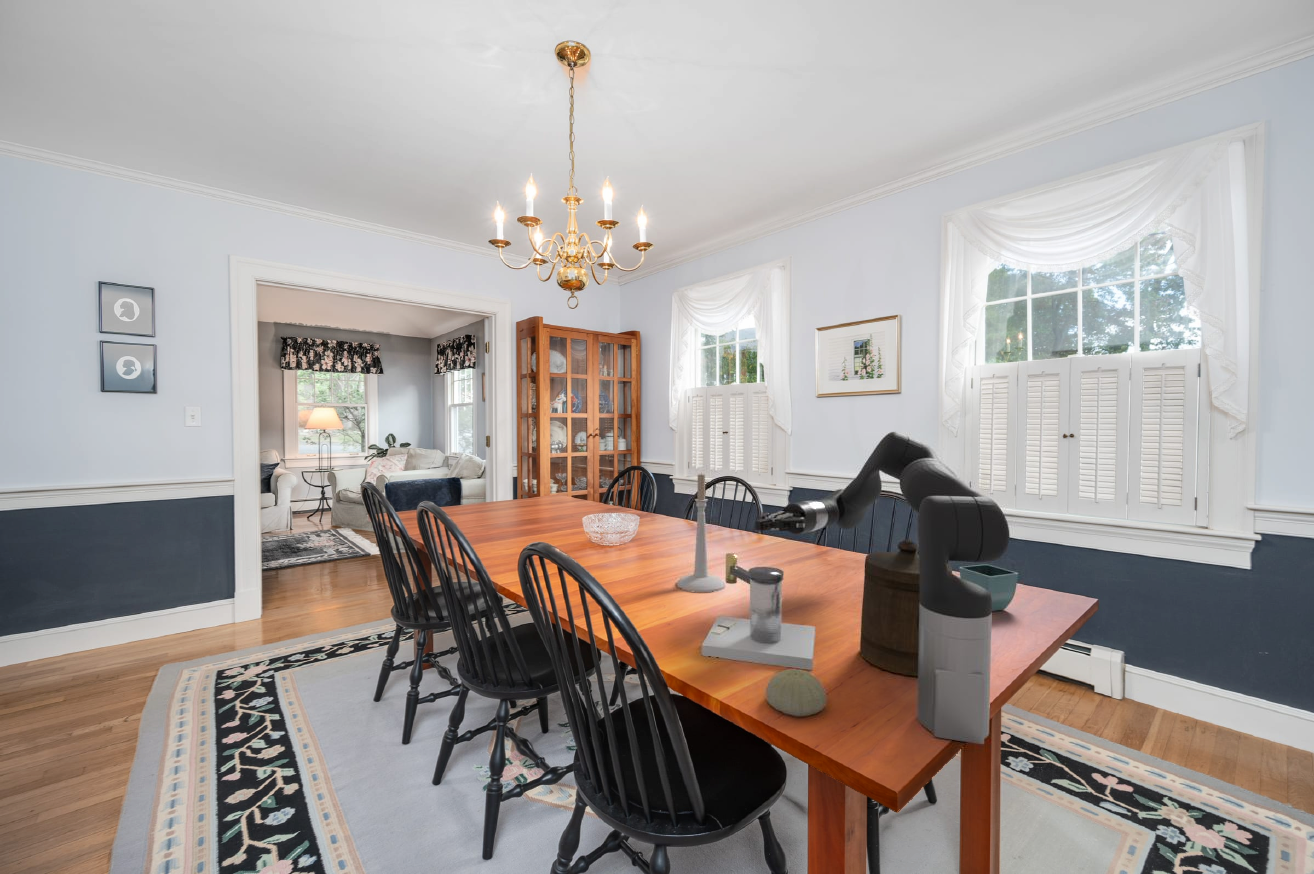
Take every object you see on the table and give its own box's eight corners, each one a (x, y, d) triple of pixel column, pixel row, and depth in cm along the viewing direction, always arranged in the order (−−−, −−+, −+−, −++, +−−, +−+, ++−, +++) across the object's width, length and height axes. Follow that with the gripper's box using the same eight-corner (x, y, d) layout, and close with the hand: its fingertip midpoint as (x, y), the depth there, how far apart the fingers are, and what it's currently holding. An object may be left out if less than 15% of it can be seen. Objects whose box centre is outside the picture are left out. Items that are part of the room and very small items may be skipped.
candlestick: (700, 595, 140) (700, 476, 139) (667, 584, 150) (667, 472, 149) (735, 586, 148) (735, 473, 147) (701, 575, 158) (701, 469, 157)
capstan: (789, 639, 106) (790, 574, 106) (759, 644, 104) (760, 577, 103) (741, 608, 123) (742, 551, 123) (714, 612, 121) (715, 554, 121)
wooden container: (947, 685, 93) (953, 554, 92) (854, 664, 100) (859, 543, 99) (948, 652, 106) (953, 538, 105) (865, 636, 113) (869, 528, 112)
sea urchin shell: (750, 695, 86) (771, 648, 90) (770, 717, 90) (789, 671, 94) (803, 717, 80) (823, 665, 84) (822, 739, 84) (840, 689, 88)
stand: (812, 670, 99) (812, 656, 99) (701, 655, 105) (701, 642, 105) (815, 636, 114) (815, 624, 114) (718, 625, 120) (718, 614, 120)
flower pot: (957, 603, 134) (957, 566, 134) (985, 599, 137) (986, 563, 136) (988, 616, 126) (989, 576, 125) (1018, 611, 128) (1019, 573, 128)
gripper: (783, 498, 143) (736, 505, 132) (828, 505, 132) (781, 513, 122) (783, 527, 143) (736, 537, 132) (827, 536, 133) (780, 548, 122)
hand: (757, 526), depth 127 cm, fingers closed
